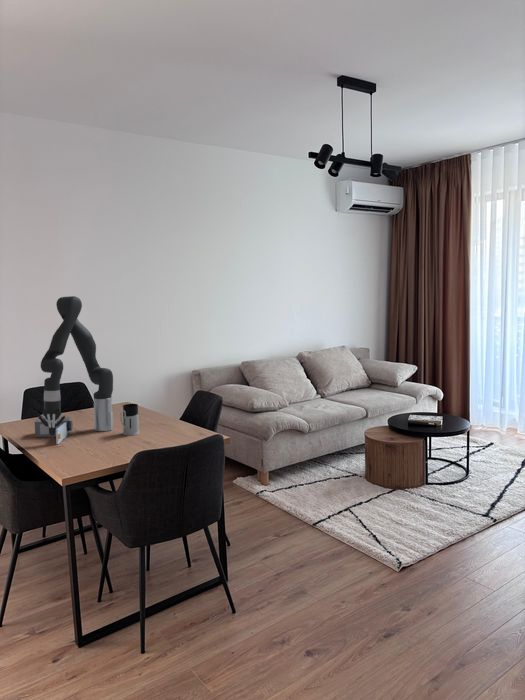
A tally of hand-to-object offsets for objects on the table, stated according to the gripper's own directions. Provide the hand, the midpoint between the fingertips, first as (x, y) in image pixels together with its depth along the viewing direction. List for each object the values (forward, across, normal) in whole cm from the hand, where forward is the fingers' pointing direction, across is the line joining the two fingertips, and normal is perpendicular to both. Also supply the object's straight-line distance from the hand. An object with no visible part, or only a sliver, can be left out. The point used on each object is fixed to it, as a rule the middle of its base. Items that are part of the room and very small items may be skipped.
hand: (52, 434), depth 265 cm
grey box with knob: (+4, -5, +19) cm, 20 cm away
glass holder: (+3, +34, +14) cm, 37 cm away
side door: (+4, +4, +6) cm, 8 cm away
